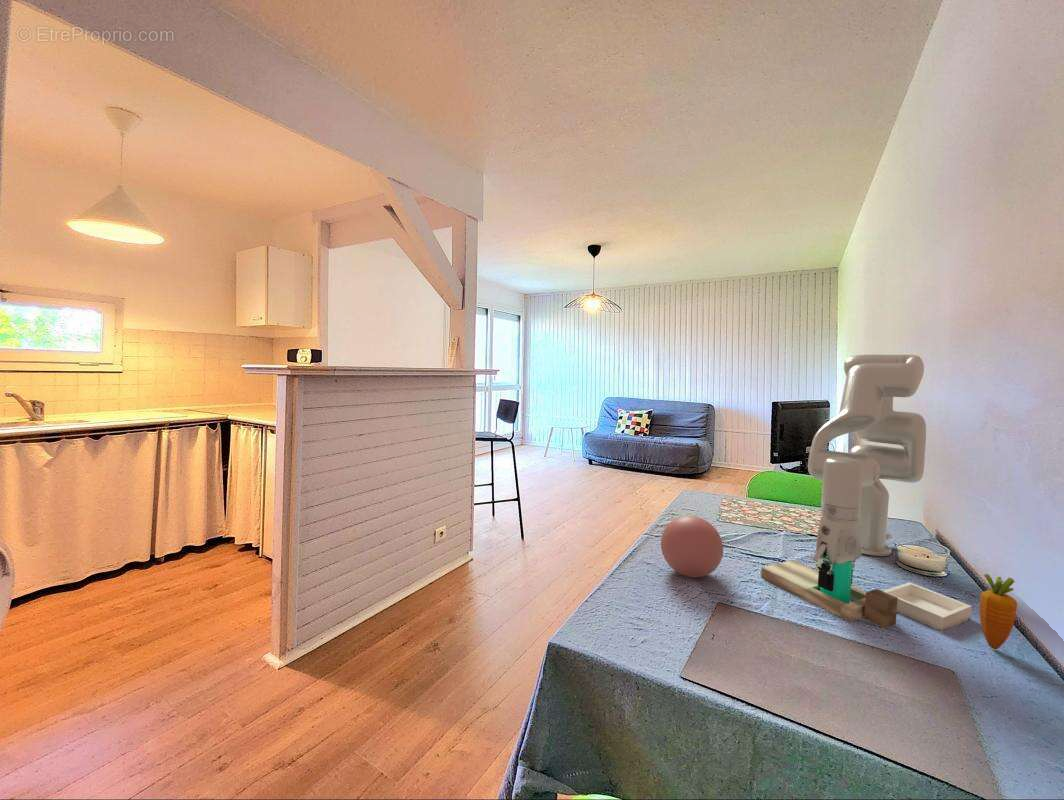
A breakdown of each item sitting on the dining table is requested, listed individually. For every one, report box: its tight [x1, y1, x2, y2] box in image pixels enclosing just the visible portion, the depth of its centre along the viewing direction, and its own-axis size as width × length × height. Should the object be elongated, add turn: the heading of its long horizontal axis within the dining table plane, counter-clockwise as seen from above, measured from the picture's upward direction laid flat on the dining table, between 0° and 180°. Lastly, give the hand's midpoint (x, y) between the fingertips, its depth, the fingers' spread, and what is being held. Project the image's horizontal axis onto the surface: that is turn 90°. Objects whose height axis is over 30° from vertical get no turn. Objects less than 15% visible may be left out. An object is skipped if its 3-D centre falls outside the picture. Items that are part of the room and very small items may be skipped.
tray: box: [882, 581, 973, 632], centre depth 101 cm, size 12×12×3 cm
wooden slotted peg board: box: [760, 559, 867, 622], centre depth 109 cm, size 12×22×2 cm, turn 24°
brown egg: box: [660, 515, 724, 578], centre depth 118 cm, size 15×20×15 cm
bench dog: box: [863, 588, 898, 629], centre depth 96 cm, size 4×4×6 cm
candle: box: [820, 556, 853, 604], centre depth 105 cm, size 6×6×12 cm
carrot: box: [979, 573, 1018, 650], centre depth 87 cm, size 5×5×15 cm
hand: (834, 585), depth 105 cm, fingers open, 6 cm apart
